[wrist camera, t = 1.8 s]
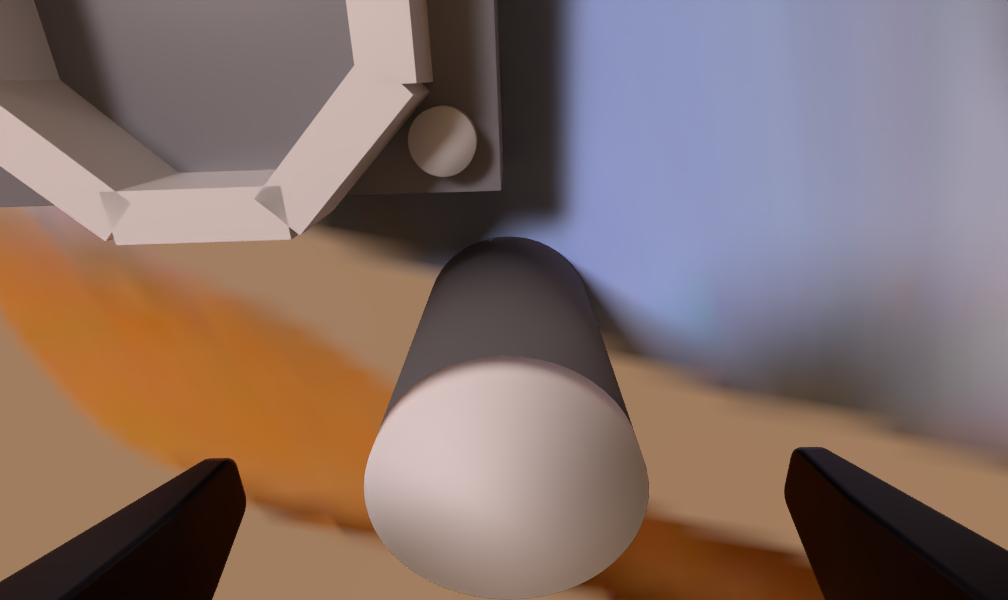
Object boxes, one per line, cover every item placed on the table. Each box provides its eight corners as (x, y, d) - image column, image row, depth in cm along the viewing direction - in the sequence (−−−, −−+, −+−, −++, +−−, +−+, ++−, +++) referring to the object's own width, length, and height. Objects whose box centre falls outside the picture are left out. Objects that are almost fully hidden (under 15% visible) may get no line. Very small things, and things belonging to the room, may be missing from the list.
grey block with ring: (489, -222, 10) (472, -444, 6) (504, 180, 13) (499, 233, 9) (-15, -193, 11) (-391, -386, 6) (110, 194, 14) (-84, 251, 9)
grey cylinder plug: (591, 234, 14) (659, 373, 7) (587, 380, 16) (640, 597, 9) (421, 239, 14) (343, 380, 8) (436, 384, 16) (382, 601, 9)
